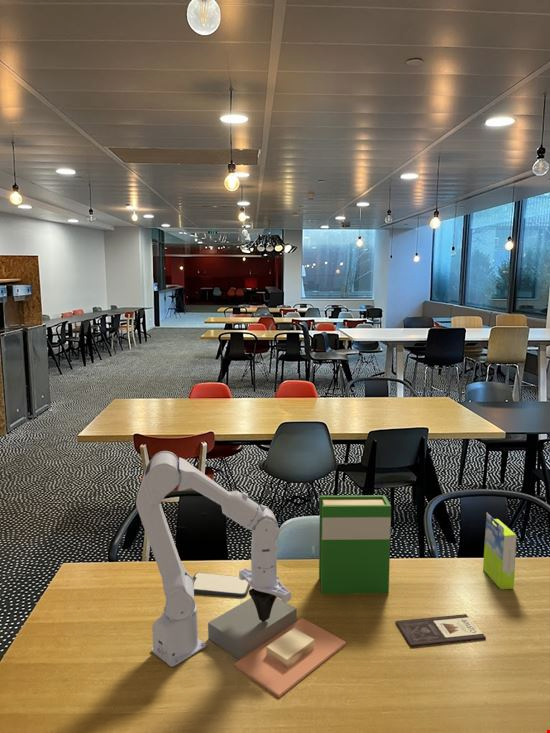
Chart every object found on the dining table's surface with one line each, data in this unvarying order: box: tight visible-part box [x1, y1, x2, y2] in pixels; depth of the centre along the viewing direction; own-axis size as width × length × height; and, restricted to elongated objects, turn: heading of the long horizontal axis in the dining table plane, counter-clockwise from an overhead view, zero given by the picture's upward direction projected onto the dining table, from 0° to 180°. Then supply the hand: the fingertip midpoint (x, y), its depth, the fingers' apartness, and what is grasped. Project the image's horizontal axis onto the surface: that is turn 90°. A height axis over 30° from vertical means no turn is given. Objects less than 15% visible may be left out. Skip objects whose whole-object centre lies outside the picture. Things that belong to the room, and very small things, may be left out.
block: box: [207, 597, 298, 661], centre depth 124 cm, size 18×11×4 cm, turn 136°
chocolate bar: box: [395, 613, 487, 648], centre depth 125 cm, size 9×1×18 cm
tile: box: [266, 628, 315, 668], centre depth 117 cm, size 9×6×2 cm, turn 136°
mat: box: [233, 617, 347, 698], centre depth 116 cm, size 22×13×1 cm, turn 136°
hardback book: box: [318, 494, 392, 595], centre depth 142 cm, size 18×7×24 cm, turn 91°
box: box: [482, 512, 517, 590], centre depth 146 cm, size 10×4×17 cm, turn 4°
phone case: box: [192, 572, 251, 599], centre depth 144 cm, size 9×2×16 cm
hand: (264, 618), depth 122 cm, fingers closed
